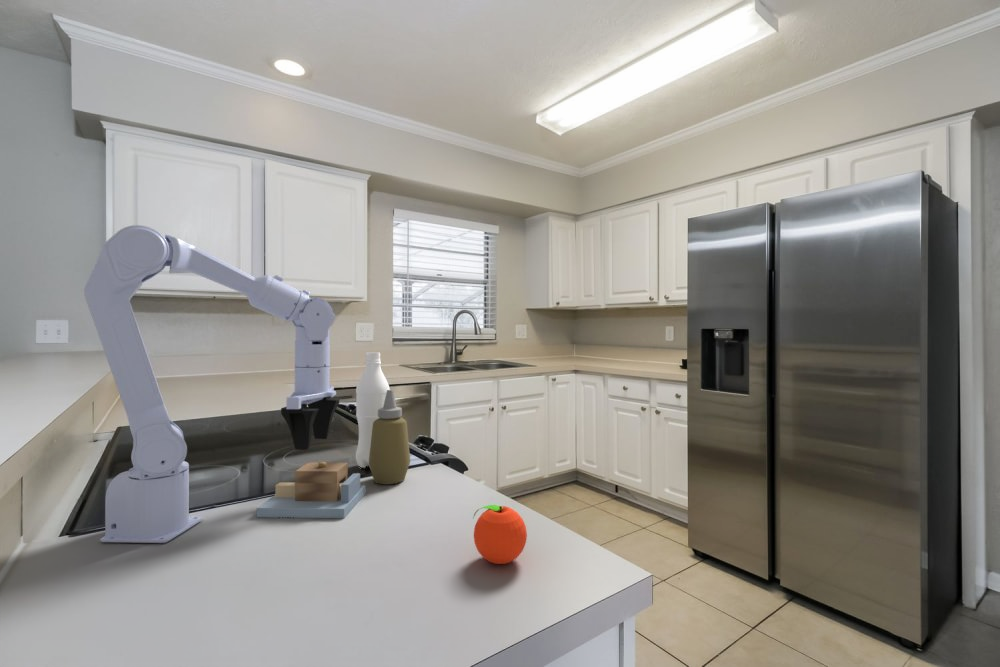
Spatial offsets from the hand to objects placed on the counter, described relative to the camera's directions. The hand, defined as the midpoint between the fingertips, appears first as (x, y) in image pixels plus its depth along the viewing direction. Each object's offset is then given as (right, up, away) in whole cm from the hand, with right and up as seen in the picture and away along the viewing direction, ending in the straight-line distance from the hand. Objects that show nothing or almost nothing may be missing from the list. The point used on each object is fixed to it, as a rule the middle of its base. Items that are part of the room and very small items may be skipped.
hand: (312, 443), depth 81 cm
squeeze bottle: (+11, -10, +11) cm, 18 cm away
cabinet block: (+3, -8, -2) cm, 9 cm away
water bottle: (+5, -10, +20) cm, 23 cm away
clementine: (+33, -10, -21) cm, 40 cm away
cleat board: (+1, -10, -2) cm, 10 cm away
